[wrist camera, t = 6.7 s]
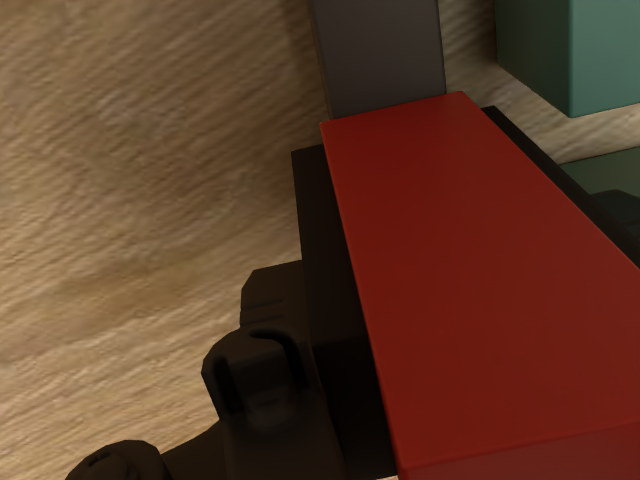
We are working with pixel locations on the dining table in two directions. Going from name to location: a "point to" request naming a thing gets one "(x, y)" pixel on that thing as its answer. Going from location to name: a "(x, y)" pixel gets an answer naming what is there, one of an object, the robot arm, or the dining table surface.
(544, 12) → the cube
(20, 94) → the dining table surface
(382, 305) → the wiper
